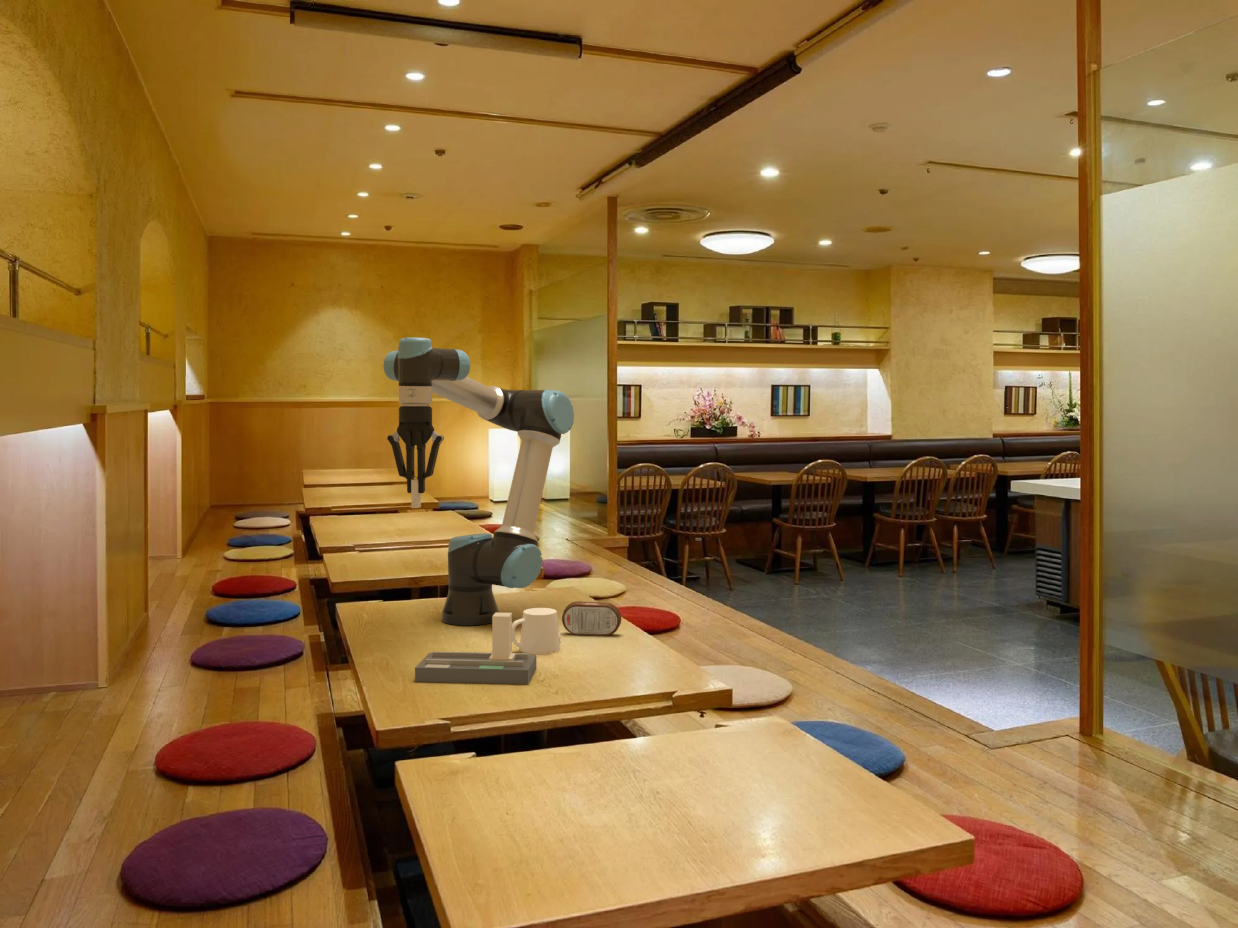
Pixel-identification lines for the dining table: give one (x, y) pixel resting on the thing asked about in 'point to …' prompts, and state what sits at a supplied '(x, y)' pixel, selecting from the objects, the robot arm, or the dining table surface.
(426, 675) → the switch panel
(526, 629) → the mug
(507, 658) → the slider tab
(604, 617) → the tin
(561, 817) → the dining table surface
